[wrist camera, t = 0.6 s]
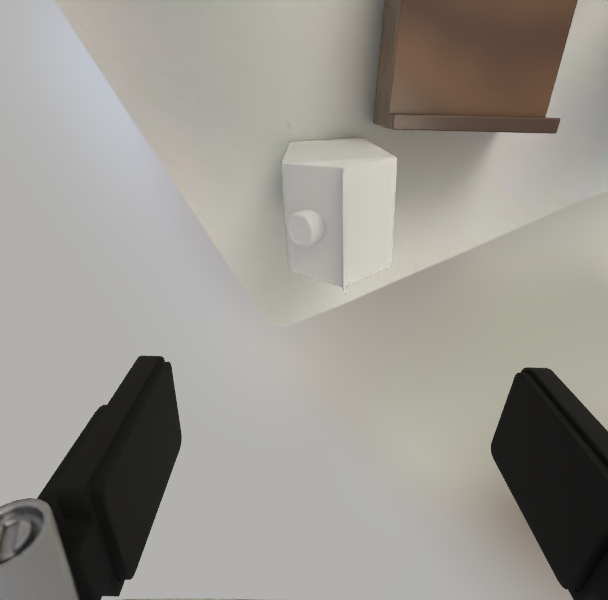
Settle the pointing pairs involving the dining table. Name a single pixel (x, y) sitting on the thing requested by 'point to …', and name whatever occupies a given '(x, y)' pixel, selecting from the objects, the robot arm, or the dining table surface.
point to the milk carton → (338, 209)
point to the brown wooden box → (470, 64)
